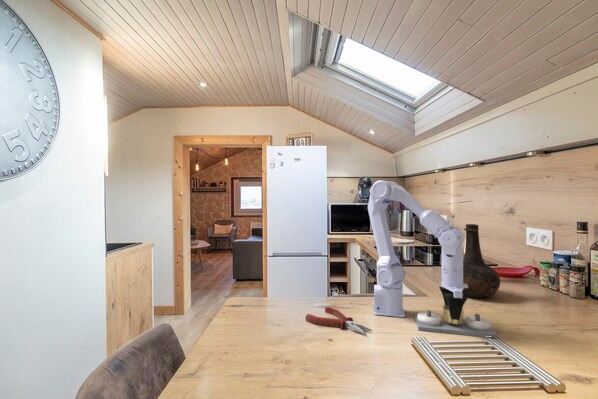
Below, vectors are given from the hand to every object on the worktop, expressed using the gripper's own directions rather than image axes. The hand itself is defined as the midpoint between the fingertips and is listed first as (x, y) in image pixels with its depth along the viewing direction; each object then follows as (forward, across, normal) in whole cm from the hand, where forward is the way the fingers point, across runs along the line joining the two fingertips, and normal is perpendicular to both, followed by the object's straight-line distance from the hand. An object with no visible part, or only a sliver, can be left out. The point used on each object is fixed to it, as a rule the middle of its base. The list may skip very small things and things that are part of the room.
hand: (452, 315), depth 89 cm
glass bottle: (+4, +36, -15) cm, 39 cm away
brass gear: (+1, 0, 0) cm, 1 cm away
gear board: (+3, 0, 0) cm, 3 cm away
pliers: (+4, -7, +34) cm, 35 cm away
